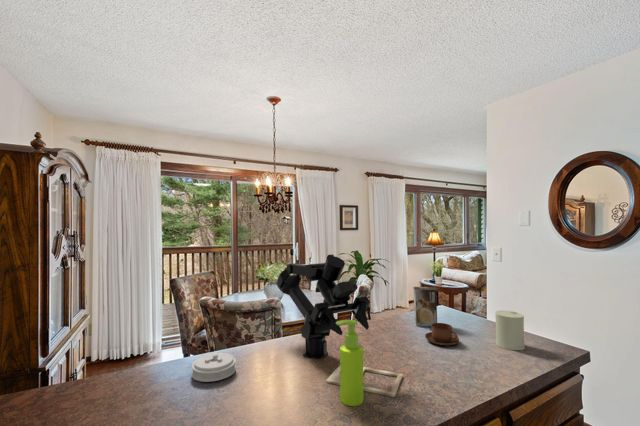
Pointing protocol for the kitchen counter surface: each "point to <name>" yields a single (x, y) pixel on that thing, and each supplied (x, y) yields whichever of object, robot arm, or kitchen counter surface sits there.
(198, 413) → the kitchen counter surface
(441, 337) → the cup and saucer
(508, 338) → the can
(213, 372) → the lid
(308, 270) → the robot arm
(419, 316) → the coffee box
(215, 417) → the kitchen counter surface
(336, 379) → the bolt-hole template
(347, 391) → the soap dispenser
